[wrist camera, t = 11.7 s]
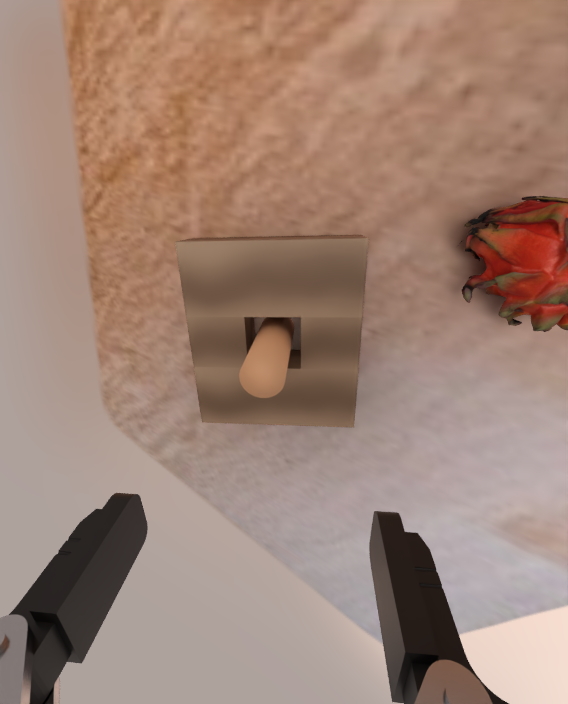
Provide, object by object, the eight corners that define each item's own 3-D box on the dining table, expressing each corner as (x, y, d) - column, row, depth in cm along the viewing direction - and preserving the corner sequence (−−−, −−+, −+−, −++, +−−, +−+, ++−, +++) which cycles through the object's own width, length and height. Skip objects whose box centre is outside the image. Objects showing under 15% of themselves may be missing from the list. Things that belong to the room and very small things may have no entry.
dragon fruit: (554, 303, 28) (440, 230, 28) (684, 230, 21) (530, 131, 21) (551, 376, 24) (416, 288, 24) (714, 315, 17) (520, 189, 17)
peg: (261, 312, 29) (237, 356, 20) (293, 312, 29) (284, 357, 20) (262, 342, 30) (241, 397, 21) (294, 343, 30) (285, 398, 21)
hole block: (193, 238, 27) (175, 241, 23) (360, 234, 26) (368, 238, 22) (214, 399, 33) (202, 422, 30) (349, 403, 32) (354, 427, 29)
